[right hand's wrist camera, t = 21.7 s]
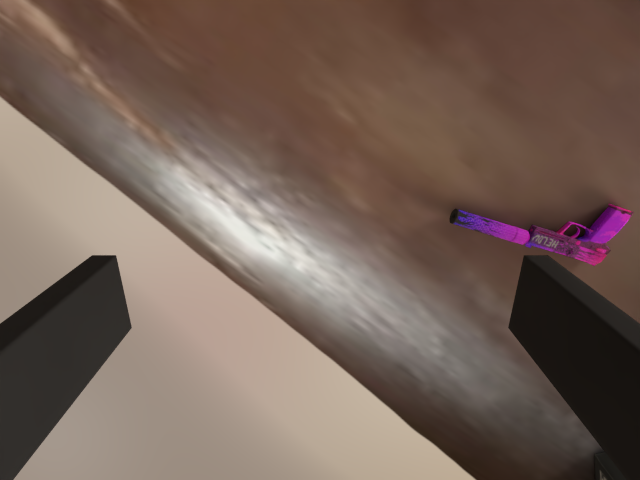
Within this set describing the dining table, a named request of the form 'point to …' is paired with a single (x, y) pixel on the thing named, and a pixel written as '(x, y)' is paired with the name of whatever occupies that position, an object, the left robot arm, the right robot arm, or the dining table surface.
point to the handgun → (554, 233)
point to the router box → (606, 468)
